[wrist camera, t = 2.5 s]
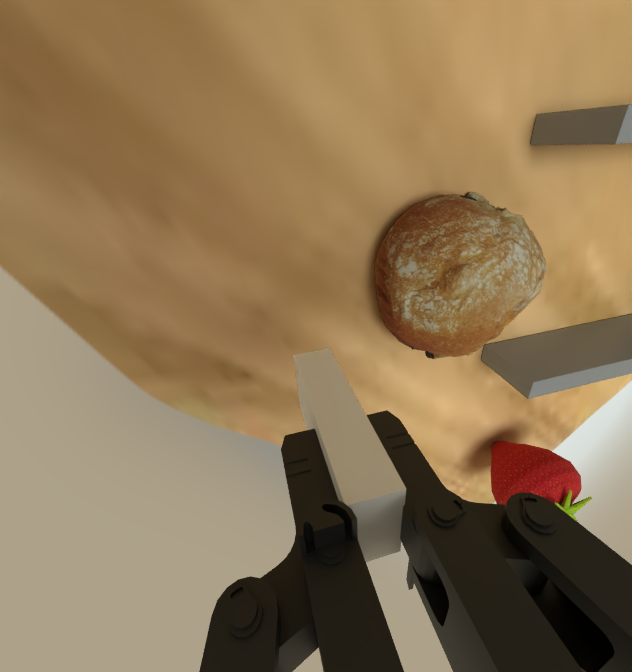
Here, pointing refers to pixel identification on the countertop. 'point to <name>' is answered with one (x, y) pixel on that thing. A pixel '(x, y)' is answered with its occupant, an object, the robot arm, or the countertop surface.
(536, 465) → the strawberry
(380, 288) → the bread roll
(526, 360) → the box
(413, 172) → the countertop surface
